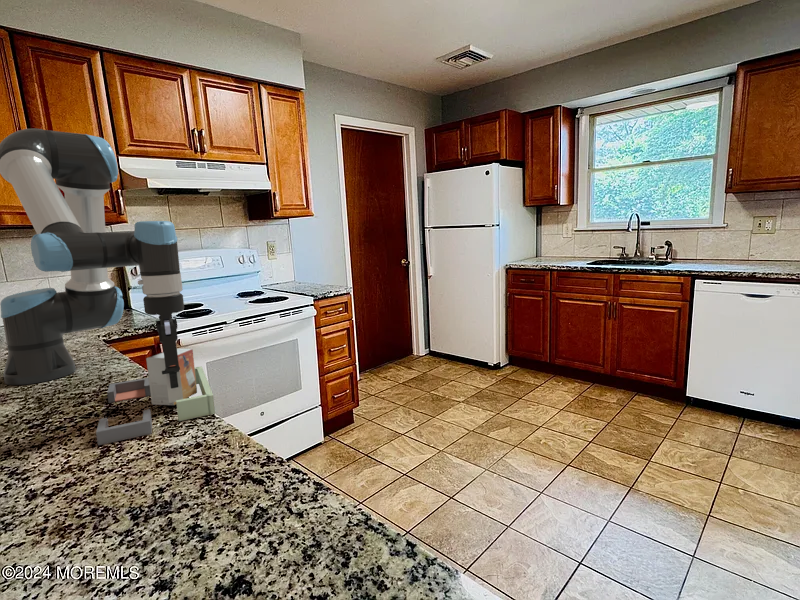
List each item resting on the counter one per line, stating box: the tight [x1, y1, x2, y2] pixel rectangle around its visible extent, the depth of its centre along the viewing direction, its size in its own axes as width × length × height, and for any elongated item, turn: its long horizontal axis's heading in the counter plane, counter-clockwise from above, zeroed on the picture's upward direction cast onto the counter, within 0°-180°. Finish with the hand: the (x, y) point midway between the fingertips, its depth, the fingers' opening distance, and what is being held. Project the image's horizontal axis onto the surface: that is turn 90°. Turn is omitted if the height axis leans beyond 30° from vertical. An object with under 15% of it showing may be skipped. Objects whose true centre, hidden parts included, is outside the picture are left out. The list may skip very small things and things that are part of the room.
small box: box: [145, 347, 198, 406], centre depth 96 cm, size 8×6×10 cm
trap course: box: [95, 366, 216, 446], centre depth 95 cm, size 30×20×4 cm
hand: (174, 393), depth 97 cm, fingers closed on small box, 9 cm apart
